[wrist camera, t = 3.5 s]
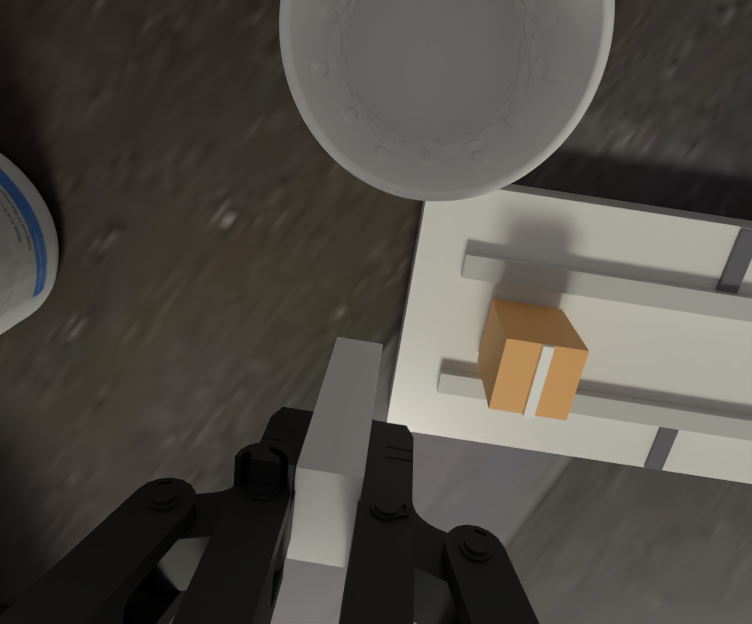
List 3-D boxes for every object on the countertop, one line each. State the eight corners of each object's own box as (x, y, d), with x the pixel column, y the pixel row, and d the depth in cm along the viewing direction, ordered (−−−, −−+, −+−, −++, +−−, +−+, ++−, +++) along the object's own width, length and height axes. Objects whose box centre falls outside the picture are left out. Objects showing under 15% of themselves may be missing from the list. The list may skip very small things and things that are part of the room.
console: (387, 405, 29) (385, 434, 26) (428, 171, 24) (429, 181, 22) (731, 458, 29) (760, 492, 26) (839, 234, 24) (886, 251, 22)
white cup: (491, 175, 24) (541, 235, 15) (314, 126, 24) (253, 156, 15) (561, -30, 21) (677, -113, 12) (359, -90, 21) (317, -224, 12)
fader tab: (477, 360, 25) (489, 411, 21) (492, 298, 24) (507, 341, 20) (543, 370, 25) (567, 423, 21) (561, 308, 24) (590, 353, 20)
